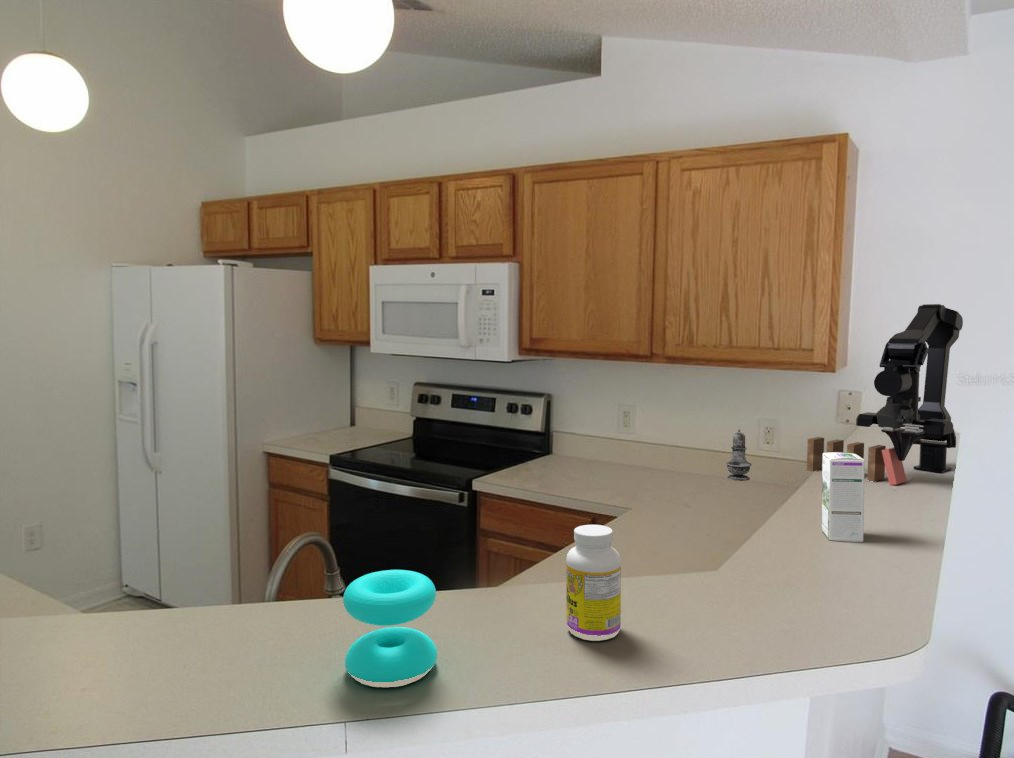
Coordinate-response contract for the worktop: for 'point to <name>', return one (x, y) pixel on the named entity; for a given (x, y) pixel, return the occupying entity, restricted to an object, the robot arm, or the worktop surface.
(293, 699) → the worktop surface
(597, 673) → the worktop surface
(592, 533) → the supplement bottle
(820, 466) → the domino
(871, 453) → the domino
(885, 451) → the domino
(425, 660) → the teal rings
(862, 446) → the domino
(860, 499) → the syrup box
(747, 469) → the salt shaker
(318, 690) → the worktop surface
